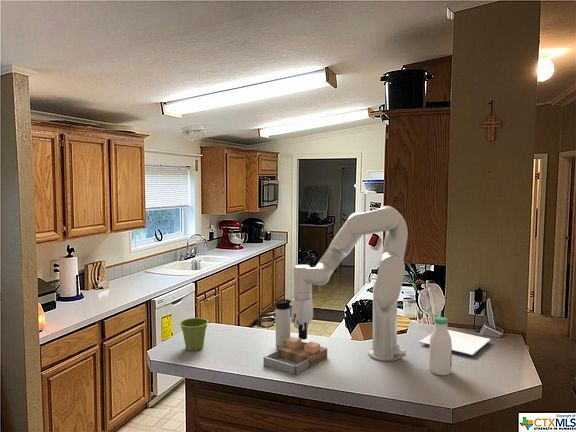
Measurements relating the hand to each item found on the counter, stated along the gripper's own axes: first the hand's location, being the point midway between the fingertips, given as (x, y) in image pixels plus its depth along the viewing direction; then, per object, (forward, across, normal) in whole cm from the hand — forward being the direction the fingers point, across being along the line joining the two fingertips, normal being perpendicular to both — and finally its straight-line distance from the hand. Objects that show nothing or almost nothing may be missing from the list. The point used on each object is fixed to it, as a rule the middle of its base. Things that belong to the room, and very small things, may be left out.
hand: (302, 338), depth 184 cm
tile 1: (+1, +6, 0) cm, 7 cm away
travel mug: (+5, +1, -9) cm, 11 cm away
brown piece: (+5, +7, +5) cm, 10 cm away
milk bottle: (+5, -13, +52) cm, 54 cm away
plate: (+5, -44, +48) cm, 66 cm away
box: (+5, +17, +5) cm, 18 cm away
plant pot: (+5, +25, -38) cm, 46 cm away
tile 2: (+1, +6, +9) cm, 11 cm away
